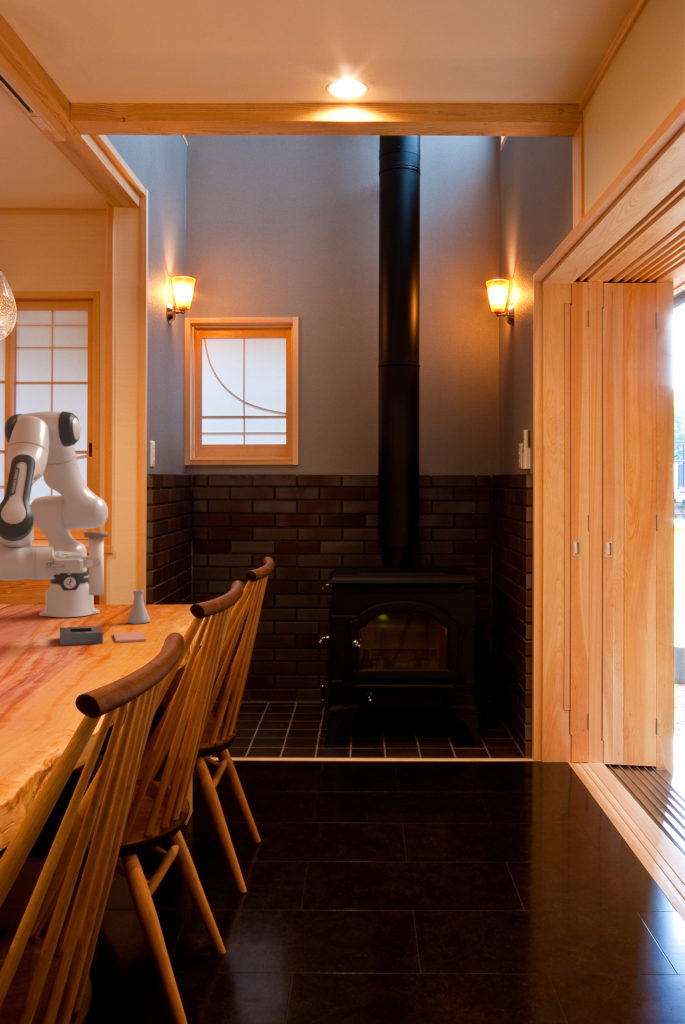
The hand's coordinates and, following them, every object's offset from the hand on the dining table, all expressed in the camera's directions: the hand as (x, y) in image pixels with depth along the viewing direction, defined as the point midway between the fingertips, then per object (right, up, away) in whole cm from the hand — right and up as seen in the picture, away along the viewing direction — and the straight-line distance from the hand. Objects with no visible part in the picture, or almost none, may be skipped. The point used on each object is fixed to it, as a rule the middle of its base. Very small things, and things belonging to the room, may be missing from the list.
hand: (99, 561), depth 241 cm
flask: (+4, -21, +30) cm, 36 cm away
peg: (-1, -9, 0) cm, 9 cm away
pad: (+7, -22, +3) cm, 23 cm away
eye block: (-5, -22, -1) cm, 22 cm away
